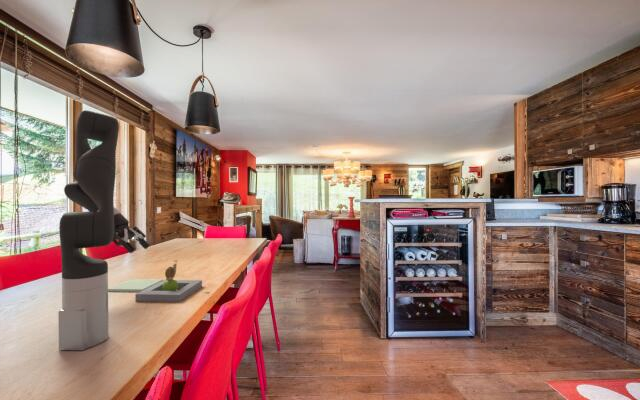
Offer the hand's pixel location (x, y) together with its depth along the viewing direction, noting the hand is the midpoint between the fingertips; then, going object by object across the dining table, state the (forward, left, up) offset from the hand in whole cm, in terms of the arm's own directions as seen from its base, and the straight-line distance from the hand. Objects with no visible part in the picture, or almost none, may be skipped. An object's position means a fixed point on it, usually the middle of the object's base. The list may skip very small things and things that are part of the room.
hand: (140, 249), depth 114 cm
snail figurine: (0, -12, -17) cm, 21 cm away
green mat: (+8, +7, -17) cm, 20 cm away
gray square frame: (0, -12, -17) cm, 21 cm away
